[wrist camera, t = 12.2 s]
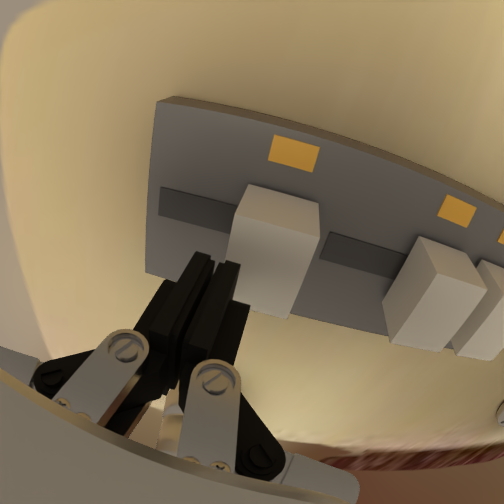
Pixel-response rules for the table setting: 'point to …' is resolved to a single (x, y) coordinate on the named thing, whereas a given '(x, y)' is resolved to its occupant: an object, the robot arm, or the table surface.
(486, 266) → the slider
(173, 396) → the plastic bottle
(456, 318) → the slider
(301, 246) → the slider
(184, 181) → the switch deck
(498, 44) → the table surface
